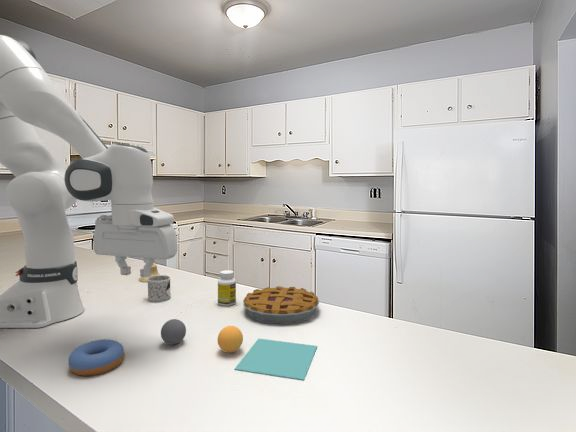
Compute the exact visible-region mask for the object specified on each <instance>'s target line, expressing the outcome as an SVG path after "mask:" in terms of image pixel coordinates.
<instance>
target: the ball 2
mask: <svg viewBox="0 0 576 432" xmlns="http://www.w3.org/2000/svg"><path fill="white" fill-rule="evenodd" d="M243 341H244V335H243V332H242V331H241V329H240V328H238V327H237V326H236V325H235V326H234V325H227V326H225V327H223V328H222V329H221V330H220V331H219V332H218V335H217V344H218V347H219V349H220V350H222V351H223V352H225V353H235V352H237V351H238V350H239V349H240V348H241V346H242V345H243Z"/></svg>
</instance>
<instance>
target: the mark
mask: <svg viewBox="0 0 576 432" xmlns="http://www.w3.org/2000/svg"><path fill="white" fill-rule="evenodd" d="M317 348H318V345H315V344H314V345H311V344H305V343H297V342H290V341H281V340H273V339H266V338H265V339H264V338H257V340H256V341H254V343H253V344H252V345H251V347H250V349H249V350H248V351H247V352H246V353H245V354H244V356H243V357H242V359H241V360H240V361H239V363H237V365H236V366H235V368H234V371H240V372H245V373H253V374H260V375H265V376H273V377H280V378H287V379H292V380H299V381H300V380H301V381H304V380H305V378H306V376H307V374H308V371H309V369H310V367H311V366H310V365H311V363H312V362H313V359H314V356H315V353H316V351H317Z"/></svg>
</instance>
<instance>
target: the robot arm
mask: <svg viewBox="0 0 576 432" xmlns="http://www.w3.org/2000/svg"><path fill="white" fill-rule="evenodd" d="M35 127H37V128H39V129H41V130H44V131H47V132H50V133H51V134H53V135H55V136H57V137H59V138H61V139H62V140H64V141H65V142H67V143H68V144H69V145H70V146H71V148H73V149H74V151H75V152H76V153H77V154H78V155H79V156H80V157H81V159H76V160H74V161H72V162H71V163H70V164H69V165H68V166H67V168H66V170H65V168H64V167H63V166H62V164H61V163H60V161H59V160H58V159H57V158H56V157H55V156H54V155H53V153H51V150H49V148H48V147H47V146H46V145H45V143H44V141H43V140H42V138H41V137H40V135H39V133H38V132H37V129H36V128H35ZM151 160H152V159H151V156H150V153H149V152H148V150H147V149H146V148H145V147H141V146H137V145H134V144H128V143H121V142H116V143H115V142H114V143H113V144H110V145H109V147H108V146H107V145H106V144H105V143H104V141H103V140H102V139H101V138H100V136H98V134H97V133H96V132H95V130H93V128H92V127H91V126H90V125H89V124H88V123H87V122H86V120H85V119H84V118H83V117H81V115H80V114H79V113H78V112H77V109H75V108H74V107H73V106H72V105H71V103H70V102H69V101H68V100H67V98H66V97H65V96H64V94H63V93H62V92H61V91H60V90H59V88H58V87H57V85H56V84H55V83H54V82H53V80H52V79H51V77H50V76H49V74H47V72H46V70H45V69H44V68H43V67H42V66H41V64H40V63H39V62H38V59H37V57H36V53H35V52H34V50H33V48H31V46H29V44H28V43H27V42H26V41H24V40H22V39H20V38H16V37H12V36H8V35H3V34H0V164H1V165H2V166H3V167H5V169H7V170H8V171H9V172H10V173H12V175H13V176H14V178H12V180H10V181H9V183H8V184H7V186H6V188H5V198H6V201H7V203H8V205H9V207H11V208H12V209H13V210H14V212H15V214H16V218H17V220H18V223H19V226H20V229H21V231H22V236H23V240H24V242H23V243H24V252H25V265H24V266H23V267H21V268H20V269H18V270H17V271H16V272H15V273H16V274H15V277H19V279H18V281H17V282H15V283H14V284H12V286H10V287H9V288H7V289H6V290H5V291H4V292H2V293H1V294H0V329H2V328H3V329H8V328H9V329H10V328H11V329H13V328H14V329H21V328H23V329H29V328H30V329H34V328H35V329H38V328H43V327H47V326H49V325H51V324H54V323H58V322H62V321H65V320H70V319H72V318H74V317H76V316H80V314H82V313H83V312H84V311H85V307H84V304H83V302H82V299H81V296H80V291H79V286H78V278H79V270H78V263H77V261H76V258H75V257H76V256H75V255H76V254H75V240H74V239H75V237H74V232H73V231H72V230H71V227H70V224H69V221H68V218H67V214H66V210H68V209H69V208H71V207H72V206H74V204H75V203H76V202H77V201H78V200H79V201H83V202H107V201H110V204H111V205H110V206H111V207H110V208H111V214H110V215H107V214H101V215H100V216H98V217H97V218H96V219H95V223H94V224H95V226H94V232H93V245H92V247H93V251H94V253H95V254H96V255H99V256H109V257H115V260H114V261H115V262H116V265H117V266H118V267H119V271H120V275H121V276H128V275H131V274H132V271H131V269H132V268H131V266H129V265H128V263H127V261H126V260H127V259H128V258H137V259H138V258H140V259H143V263H144V265H143V268H141V269H139V272H140V274H139V276H140V277H149V276H150V274H151V272H150V268H151V267H152V265H153V264H155V262H156V260H170V259H173V258H174V257H175V256H176V255H177V253H178V240H177V232H176V229H175V227H174V226H173V225H171V224H174V222H175V217H174V215H173V214H172V213H169V212H166V211H164V210H161V209H159V208H158V207H155V205H154V204H155V203H154V198H153V195H152V194H153V193H152V189H153V187H154V178H153V177H154V176H153V165H152V161H151Z"/></svg>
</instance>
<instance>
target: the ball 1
mask: <svg viewBox="0 0 576 432" xmlns="http://www.w3.org/2000/svg"><path fill="white" fill-rule="evenodd" d="M186 334H187V328H186V325H185V323H184V322H183V321H182V320H180V319H176V318H173V319H169V320H167V321H166V322H164V324H163V325H162V326H161V329H160V337H161V339H162V341H163V342H164V343H166V344H168V345H176V344H179V343H181V342H182V341H183V340H184V338H185V337H186Z"/></svg>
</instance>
